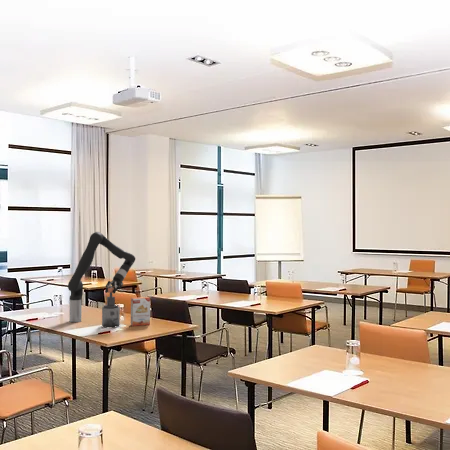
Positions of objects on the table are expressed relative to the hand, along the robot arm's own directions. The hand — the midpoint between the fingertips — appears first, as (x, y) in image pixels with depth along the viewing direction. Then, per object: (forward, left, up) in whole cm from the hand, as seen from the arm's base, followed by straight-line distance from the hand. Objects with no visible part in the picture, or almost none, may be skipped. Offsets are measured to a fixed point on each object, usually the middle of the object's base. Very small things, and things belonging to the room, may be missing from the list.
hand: (109, 292), depth 401 cm
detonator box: (+1, +1, -25) cm, 26 cm away
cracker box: (+2, +23, -26) cm, 35 cm away
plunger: (-1, +1, -9) cm, 9 cm away
